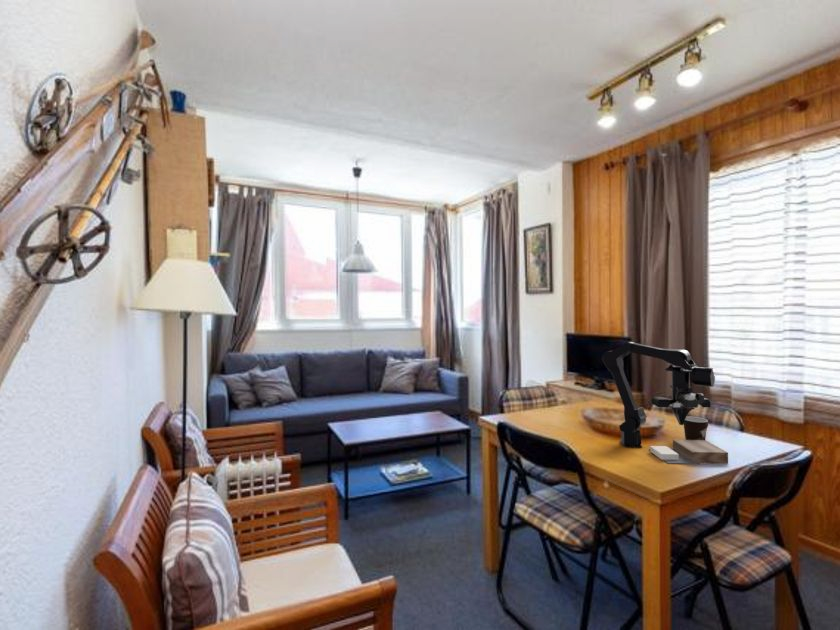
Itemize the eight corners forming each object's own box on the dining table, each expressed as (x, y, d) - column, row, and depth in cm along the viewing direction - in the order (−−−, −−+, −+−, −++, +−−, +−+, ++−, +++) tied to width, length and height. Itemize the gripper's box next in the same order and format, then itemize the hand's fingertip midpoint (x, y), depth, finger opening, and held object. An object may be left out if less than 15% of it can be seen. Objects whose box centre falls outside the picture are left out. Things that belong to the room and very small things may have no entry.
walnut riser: (692, 463, 151) (692, 452, 151) (672, 449, 165) (672, 439, 165) (728, 463, 150) (728, 452, 150) (705, 450, 164) (705, 440, 164)
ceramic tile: (678, 454, 154) (678, 459, 154) (666, 446, 163) (666, 451, 163) (661, 454, 154) (661, 459, 154) (650, 445, 163) (650, 451, 163)
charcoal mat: (667, 463, 151) (667, 462, 151) (649, 449, 166) (649, 448, 166) (700, 464, 150) (700, 463, 150) (678, 449, 165) (678, 448, 165)
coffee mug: (690, 447, 168) (690, 422, 168) (678, 440, 176) (678, 416, 176) (720, 447, 167) (720, 422, 167) (706, 440, 176) (706, 416, 176)
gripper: (665, 387, 150) (665, 431, 151) (720, 387, 149) (720, 431, 149) (650, 382, 162) (651, 422, 162) (702, 381, 160) (702, 422, 160)
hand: (681, 424), depth 158 cm, fingers closed
